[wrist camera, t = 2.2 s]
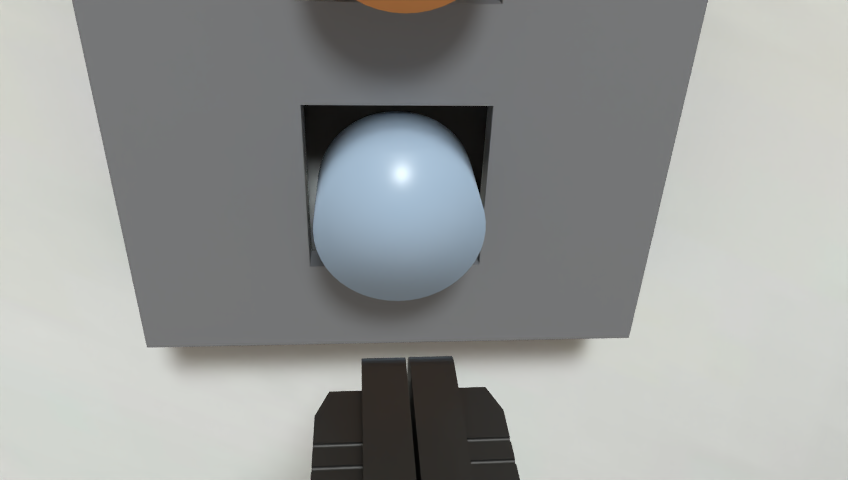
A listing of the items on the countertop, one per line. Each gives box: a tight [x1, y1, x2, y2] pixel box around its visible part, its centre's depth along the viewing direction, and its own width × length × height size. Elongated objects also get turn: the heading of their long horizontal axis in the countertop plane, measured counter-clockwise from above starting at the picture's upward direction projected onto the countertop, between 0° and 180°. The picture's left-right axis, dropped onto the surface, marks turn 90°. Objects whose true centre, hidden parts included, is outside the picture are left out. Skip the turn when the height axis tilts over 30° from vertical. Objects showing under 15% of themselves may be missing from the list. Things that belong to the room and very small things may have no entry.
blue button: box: [313, 111, 486, 301], centre depth 18 cm, size 4×4×2 cm
